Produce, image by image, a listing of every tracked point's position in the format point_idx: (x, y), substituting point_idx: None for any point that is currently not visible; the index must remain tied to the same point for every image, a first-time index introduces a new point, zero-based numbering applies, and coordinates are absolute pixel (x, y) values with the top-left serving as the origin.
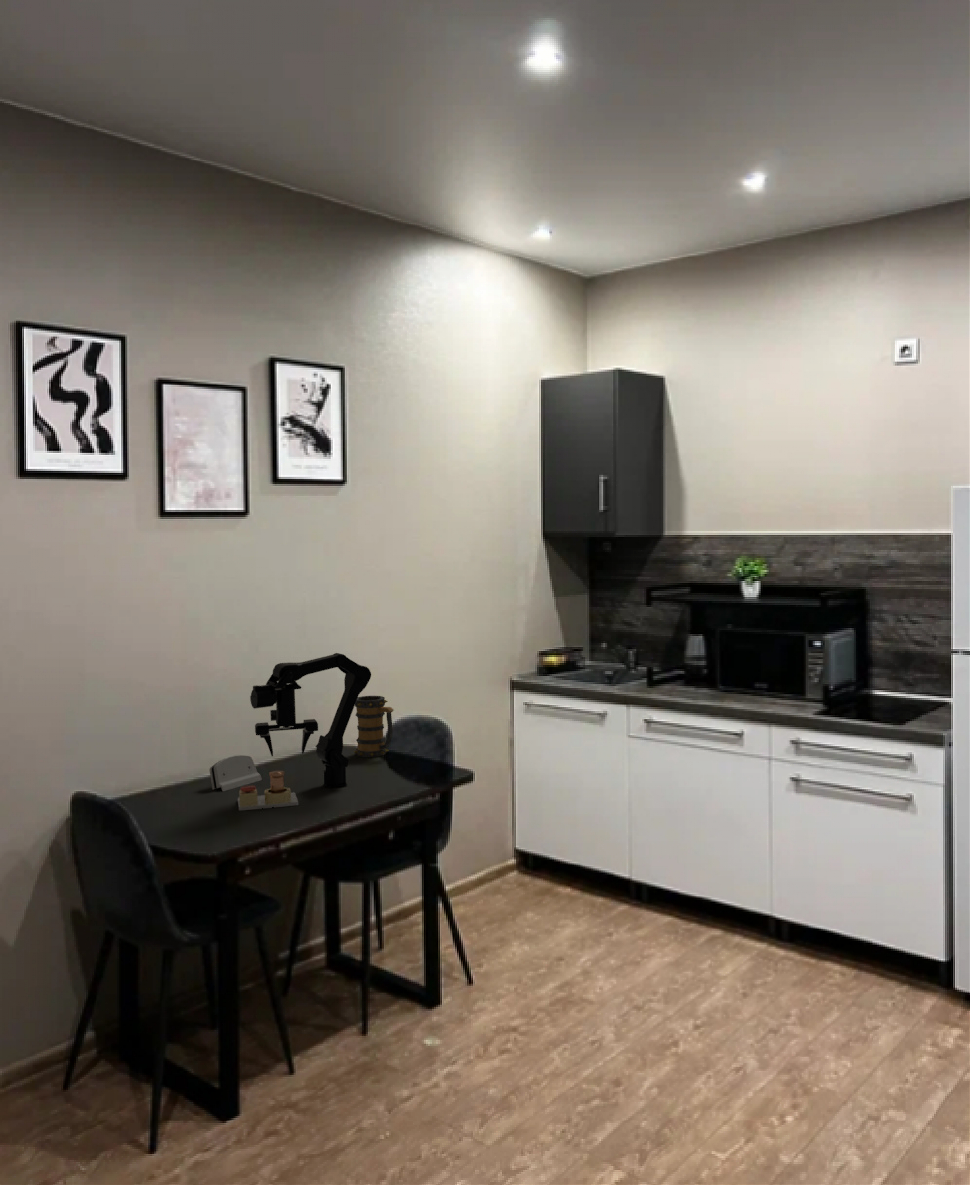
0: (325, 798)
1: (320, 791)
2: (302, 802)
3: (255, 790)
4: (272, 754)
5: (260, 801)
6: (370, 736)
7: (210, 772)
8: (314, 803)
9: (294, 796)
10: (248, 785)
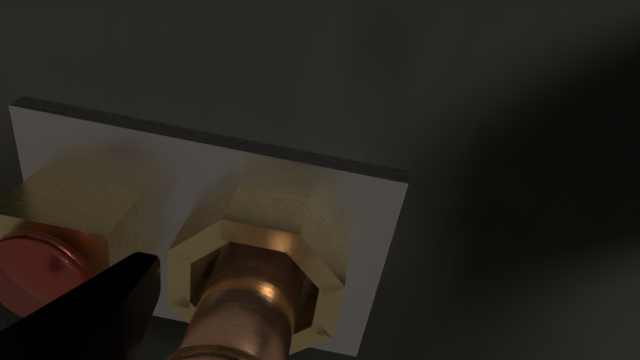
0: (544, 313)
1: (615, 163)
2: (395, 313)
3: (101, 268)
4: (139, 327)
5: (159, 256)
6: None
7: None
8: (444, 354)
9: (372, 265)
10: (32, 250)
